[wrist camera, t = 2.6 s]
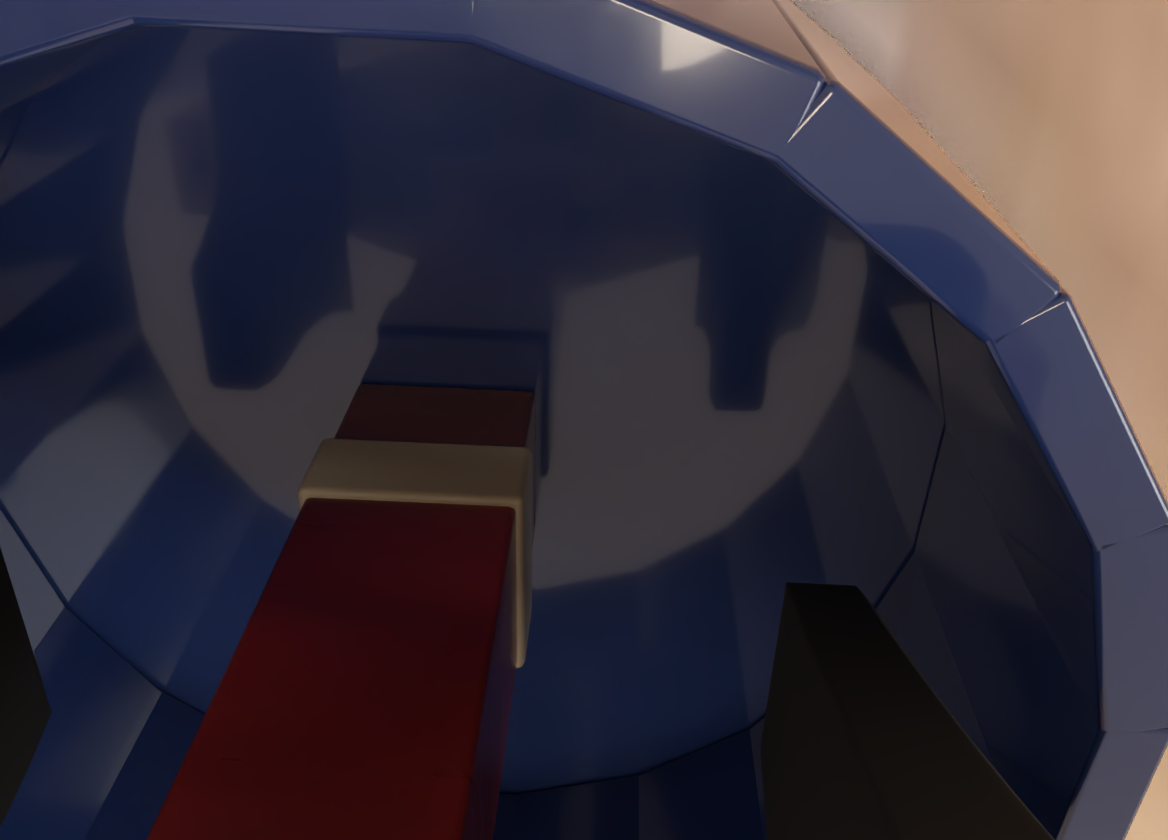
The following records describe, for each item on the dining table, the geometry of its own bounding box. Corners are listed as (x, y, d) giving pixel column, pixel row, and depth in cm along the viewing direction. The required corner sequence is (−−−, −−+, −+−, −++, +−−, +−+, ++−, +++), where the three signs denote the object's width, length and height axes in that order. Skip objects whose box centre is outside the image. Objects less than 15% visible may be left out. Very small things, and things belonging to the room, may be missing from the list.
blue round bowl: (-279, 290, 12) (-801, 569, 8) (607, -463, 9) (581, -752, 4) (381, 878, 17) (294, 1255, 13) (1129, 564, 14) (1375, 942, 9)
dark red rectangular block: (365, 530, 13) (63, 1358, 6) (350, 374, 12) (-40, 1168, 5) (540, 538, 13) (436, 1381, 6) (542, 383, 12) (415, 1193, 5)
